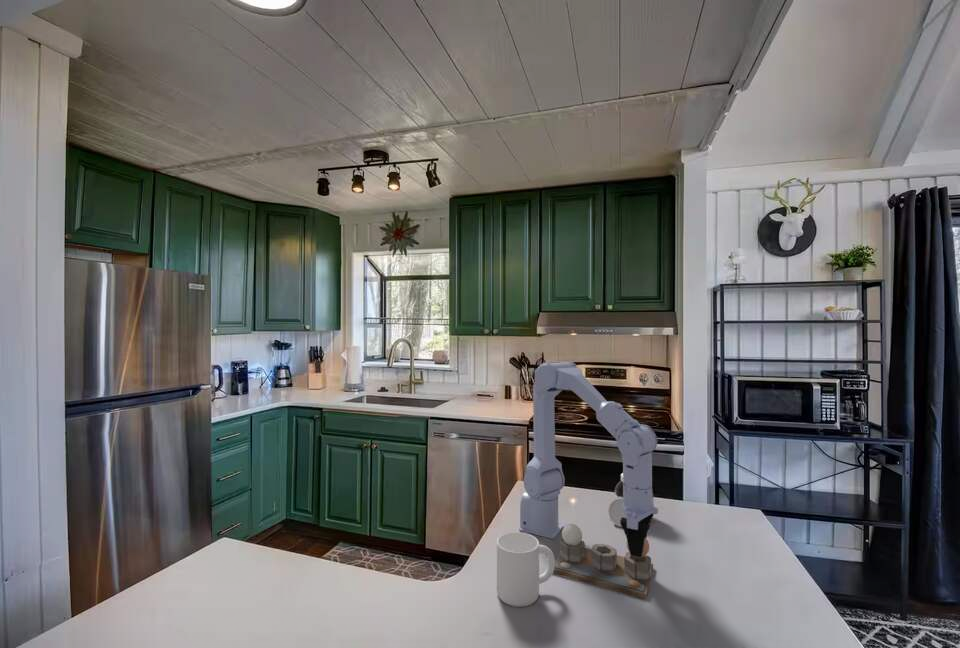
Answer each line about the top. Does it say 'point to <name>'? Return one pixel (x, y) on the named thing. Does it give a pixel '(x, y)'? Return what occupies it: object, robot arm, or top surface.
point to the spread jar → (619, 504)
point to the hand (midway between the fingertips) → (637, 549)
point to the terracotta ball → (645, 548)
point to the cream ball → (572, 534)
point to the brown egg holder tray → (605, 568)
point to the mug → (520, 568)
